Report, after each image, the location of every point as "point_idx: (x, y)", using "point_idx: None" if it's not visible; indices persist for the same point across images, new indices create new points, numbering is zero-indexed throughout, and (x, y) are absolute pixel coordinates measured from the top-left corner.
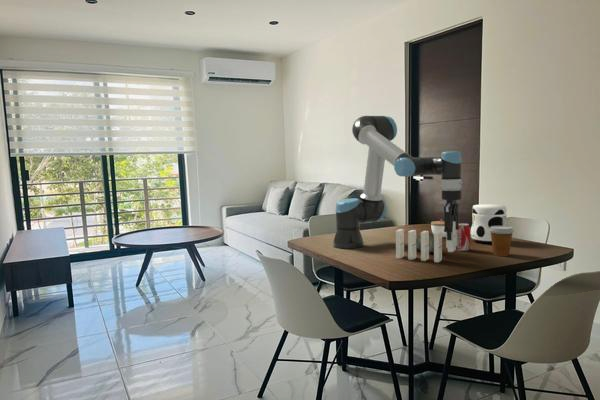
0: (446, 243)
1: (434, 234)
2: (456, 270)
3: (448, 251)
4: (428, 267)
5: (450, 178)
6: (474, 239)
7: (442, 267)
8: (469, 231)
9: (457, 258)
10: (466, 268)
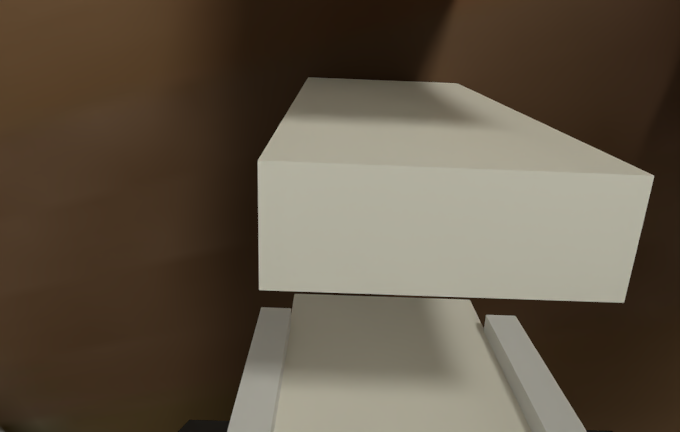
0: (250, 352)
1: (262, 168)
2: (63, 358)
3: (295, 303)
4: (19, 86)
5: None
6: None
7: (104, 222)
8: None
9: None
10: (183, 415)
